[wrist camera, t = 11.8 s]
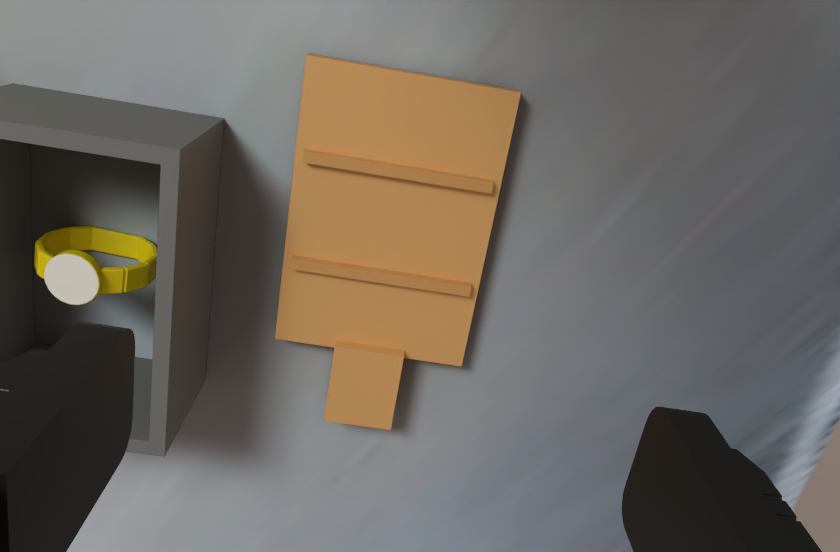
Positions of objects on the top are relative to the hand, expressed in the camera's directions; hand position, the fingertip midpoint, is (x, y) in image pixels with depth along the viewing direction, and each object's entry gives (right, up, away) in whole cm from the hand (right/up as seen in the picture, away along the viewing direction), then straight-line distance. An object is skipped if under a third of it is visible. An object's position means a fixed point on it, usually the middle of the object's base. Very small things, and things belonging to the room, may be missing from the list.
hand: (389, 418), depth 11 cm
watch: (-17, +4, +31) cm, 35 cm away
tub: (-17, +4, +30) cm, 35 cm away
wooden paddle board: (-2, +4, +31) cm, 31 cm away
